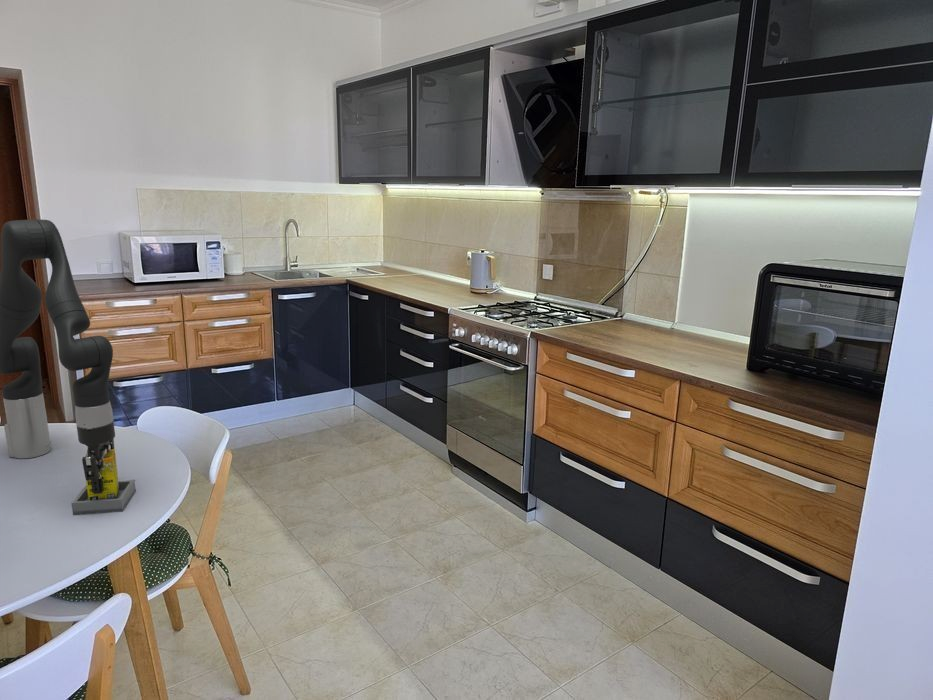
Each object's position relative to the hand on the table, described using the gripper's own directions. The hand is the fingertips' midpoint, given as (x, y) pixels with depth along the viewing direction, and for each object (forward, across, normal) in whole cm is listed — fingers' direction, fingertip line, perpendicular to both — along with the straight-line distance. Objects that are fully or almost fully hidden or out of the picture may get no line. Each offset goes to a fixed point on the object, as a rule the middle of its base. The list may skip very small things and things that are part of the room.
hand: (103, 485), depth 153 cm
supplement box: (+3, 0, 0) cm, 3 cm away
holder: (+4, 0, 0) cm, 4 cm away
